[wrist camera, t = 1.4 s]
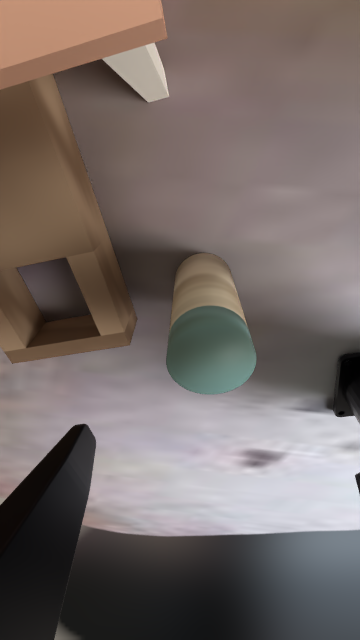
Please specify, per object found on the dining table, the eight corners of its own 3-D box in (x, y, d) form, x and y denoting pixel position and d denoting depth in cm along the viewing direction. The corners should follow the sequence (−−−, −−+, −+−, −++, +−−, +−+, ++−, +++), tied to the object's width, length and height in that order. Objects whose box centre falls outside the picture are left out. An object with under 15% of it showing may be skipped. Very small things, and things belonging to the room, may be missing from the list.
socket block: (137, 319, 20) (129, 345, 17) (33, 336, 21) (12, 363, 18) (18, -25, 11) (-31, -72, 9) (-146, 35, 12) (-232, 8, 10)
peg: (234, 300, 19) (259, 388, 12) (181, 308, 19) (176, 399, 13) (227, 247, 17) (252, 318, 10) (169, 259, 17) (156, 333, 11)
